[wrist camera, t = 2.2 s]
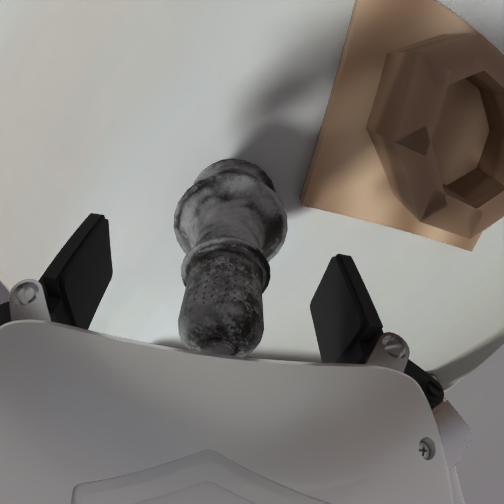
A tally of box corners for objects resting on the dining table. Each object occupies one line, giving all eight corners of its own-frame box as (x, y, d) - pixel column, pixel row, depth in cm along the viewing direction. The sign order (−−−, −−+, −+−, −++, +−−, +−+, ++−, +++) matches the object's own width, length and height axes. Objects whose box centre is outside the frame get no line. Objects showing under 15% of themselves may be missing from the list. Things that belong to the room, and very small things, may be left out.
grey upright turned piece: (168, 184, 17) (80, 341, 7) (252, 136, 15) (262, 266, 5) (217, 253, 20) (197, 422, 10) (295, 217, 18) (342, 388, 8)
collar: (524, 84, 11) (562, 97, 7) (465, 245, 20) (493, 276, 16) (362, -31, 9) (395, -54, 5) (299, 198, 17) (313, 235, 14)
